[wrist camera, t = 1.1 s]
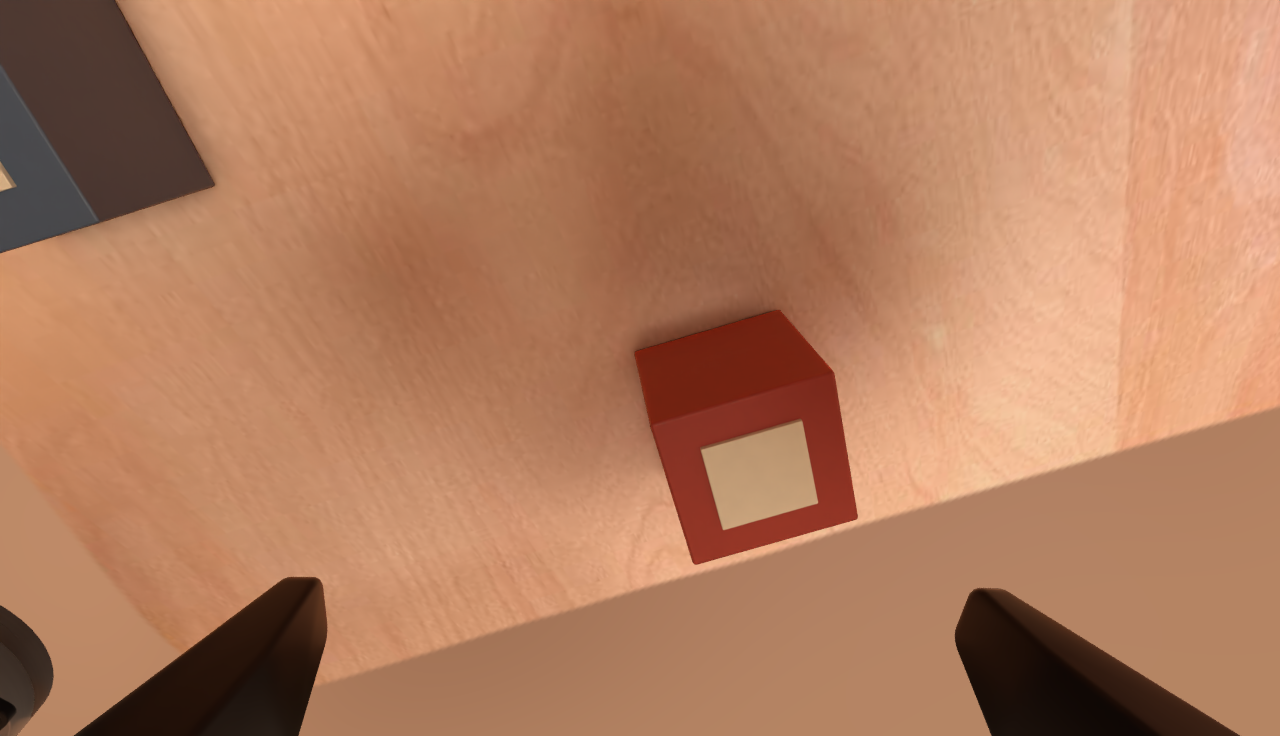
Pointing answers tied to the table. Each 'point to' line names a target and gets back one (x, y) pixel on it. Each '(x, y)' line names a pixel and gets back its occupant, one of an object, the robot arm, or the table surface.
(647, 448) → the table surface
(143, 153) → the slate block
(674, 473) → the red cube
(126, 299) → the table surface
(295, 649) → the robot arm
